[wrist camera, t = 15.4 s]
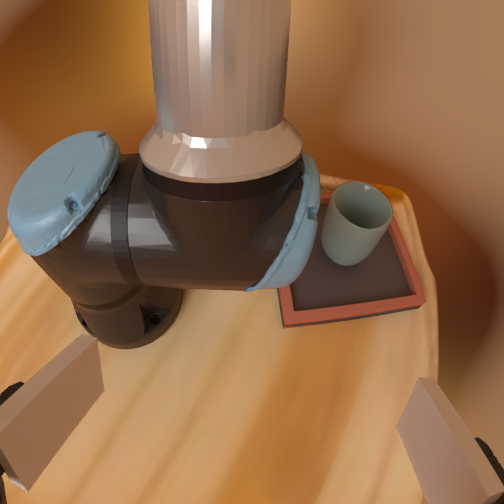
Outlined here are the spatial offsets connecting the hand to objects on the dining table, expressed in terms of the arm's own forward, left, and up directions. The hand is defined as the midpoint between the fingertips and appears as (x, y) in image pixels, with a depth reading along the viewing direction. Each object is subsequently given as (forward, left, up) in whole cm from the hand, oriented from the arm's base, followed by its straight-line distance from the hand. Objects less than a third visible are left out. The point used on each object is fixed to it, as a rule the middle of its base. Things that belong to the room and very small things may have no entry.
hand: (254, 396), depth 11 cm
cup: (-21, +16, -24) cm, 35 cm away
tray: (-21, +16, -25) cm, 36 cm away
